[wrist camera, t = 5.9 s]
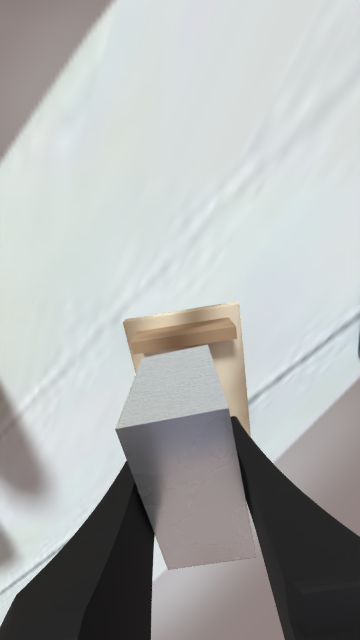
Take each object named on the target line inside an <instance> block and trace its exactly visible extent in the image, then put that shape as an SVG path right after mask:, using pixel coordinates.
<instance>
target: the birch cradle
mask: <svg viewBox="0 0 360 640" xmlns="http://www.w3.org/2000/svg"><path fill="white" fill-rule="evenodd" d="M123 325H124V329H125V333H126V337H127V341H128V345H129V349H130V353H131V357H132V361H133V365H134V369H135V373H137V371H138V368H139V365H140V363H141V360H142V358H144V357H149V356H154V355H159V354H164V353H169V352H174V351H179V350H184V349H189V348H193V347H198V346H203V345H208V347H209V350H210V353H211V356H212V359H213V362H214V365H215V368H216V371H217V374H218V377H219V380H220V383H221V386H222V389H223V392H224V395H225V398H226V401H227V404H228V407H229V412H230V417H232V416H236V417H237V418H238V420H239V422H240V423H241V425H242V426H243V428H244V429H245V431H246V432H247V433H248V435H249V436H251V435H250V424H249V412H248V400H247V389H246V377H245V365H244V354H243V342H242V330H241V319H240V307H239V303H237V302H231V303H225V304H218V305H212V306H206V307H200V308H193V309H187V310H181V311H175V312H168V313H162V314H156V315H150V316H143V317H137V318H131V319H126V320H125V321H124V322H123Z"/></svg>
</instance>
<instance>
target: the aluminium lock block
mask: <svg viewBox="0 0 360 640" xmlns="http://www.w3.org/2000/svg"><path fill="white" fill-rule="evenodd" d="M115 430H116V432H117V435H118V438H119V440H120V443H121V446H122V448H123V451H124V454H125V456H126V459H127V462H128V464H129V467H130V470H131V472H132V475H133V478H134V480H135V483H136V486H137V488H138V491H139V494H140V496H141V499H142V502H143V504H144V507H145V510H146V512H147V515H148V518H149V520H150V523H151V526H152V528H153V531H154V534H155V536H156V539H157V542H158V544H159V547H160V550H161V552H162V555H163V558H164V560H165V563H166V566H167V568H168V570H171V569H178V568H185V567H192V566H199V565H205V564H213V563H220V562H227V561H234V560H241V559H248V558H255V557H256V553H255V549H254V543H253V537H252V531H251V526H250V521H249V516H248V510H247V504H246V499H245V494H244V488H243V483H242V477H241V472H240V466H239V461H238V456H237V450H236V445H235V439H234V434H233V429H232V423H231V418H230V412H229V407H228V404H227V401H226V398H225V395H224V392H223V389H222V386H221V383H220V380H219V377H218V374H217V371H216V368H215V365H214V362H213V359H212V356H211V353H210V350H209V347H208V345H203V346H198V347H193V348H189V349H184V350H179V351H174V352H169V353H164V354H159V355H154V356H149V357H144V358H142V360H141V363H140V365H139V368H138V371H137V373H136V376H135V378H134V381H133V384H132V386H131V389H130V392H129V394H128V397H127V400H126V402H125V405H124V407H123V410H122V413H121V415H120V418H119V421H118V423H117V426H116V429H115Z"/></svg>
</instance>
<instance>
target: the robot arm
mask: <svg viewBox="0 0 360 640" xmlns="http://www.w3.org/2000/svg"><path fill="white" fill-rule="evenodd" d="M230 418H231V423H232V429H233V434H234V439H235V445H236V450H237V456H238V461H239V466H240V472H241V477H242V483H243V488H244V494H245V499H246V502H247V504H248V507H249V510H250V513H251V516H252V519H253V522H254V526H255V529H256V532H257V536H258V540H259V543H260V547H261V551H262V555H263V558H264V562H265V566H266V570H267V573H268V577H269V581H270V585H271V588H272V592H273V596H274V600H275V603H276V607H277V611H278V615H279V619H280V622H281V626H282V630H283V634H284V638H285V640H360V537H359V536H358V535H356V534H355V533H354V532H352V531H351V530H350V529H348V528H347V527H345V526H344V525H342V524H341V523H340V522H339V521H337V520H336V519H335V518H334V517H332V516H331V515H330V514H328V513H327V512H326V511H325V510H323V509H322V508H321V507H320V506H319V505H317V504H316V503H315V502H314V501H313V500H311V499H310V498H309V497H308V496H307V495H305V494H304V493H303V492H302V491H301V490H300V489H299V488H297V487H296V486H295V485H294V484H293V483H292V482H291V481H290V480H289V479H288V478H287V477H286V476H285V475H284V474H282V472H281V471H280V470H279V469H278V468H277V467H276V466H275V465H274V464H273V463H272V462H271V461H270V460H269V459H268V458H267V457H266V455H265V454H264V453H263V452H262V451H261V450H260V448H259V447H258V446H257V445H256V444H255V442H254V441H253V440H252V439H251V437H250V436H249V435H248V433H247V432H246V431H245V429H244V428H243V426H242V425H241V423H240V422H239V420H238V418H237V417H236V416H232V417H230ZM154 535H155V534H154V531H153V528H152V526H151V523H150V520H149V518H148V515H147V512H146V510H145V507H144V504H143V502H142V499H141V496H140V494H139V491H138V488H137V486H136V483H135V480H134V478H133V475H132V472H131V470H130V467H129V464H128V462H127V461H126V462H125V464H124V466H123V468H122V469H121V471H120V473H119V474H118V476H117V477H116V479H115V481H114V482H113V484H112V485H111V487H110V488H109V490H108V491H107V493H106V494H105V496H104V497H103V499H102V500H101V501H100V503H99V504H98V505H97V507H96V508H95V510H94V511H93V512H92V513H91V515H90V516H89V517H88V519H87V520H86V521H85V522H84V524H83V525H82V526H81V527H80V528H79V530H78V531H77V532H76V533H75V535H74V536H73V537H72V538H71V539H70V540H69V541H68V542H67V544H66V545H65V546H64V547H63V548H62V549H61V550H60V551H59V552H58V554H57V555H56V556H55V557H54V558H53V559H52V560H51V561H50V562H49V563H48V564H47V565H46V566H45V567H44V568H43V569H42V570H41V571H40V572H39V573H38V574H37V575H36V576H35V577H34V578H33V579H32V580H31V581H30V582H29V583H28V584H27V585H26V586H25V587H24V588H23V589H22V590H21V591H20V592H19V593H18V594H17V595H16V597H15V599H14V601H13V602H12V604H11V606H10V608H9V610H8V612H7V614H6V616H5V618H4V621H3V623H2V625H1V627H0V640H151V601H152V600H151V599H152V571H153V549H154Z"/></svg>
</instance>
